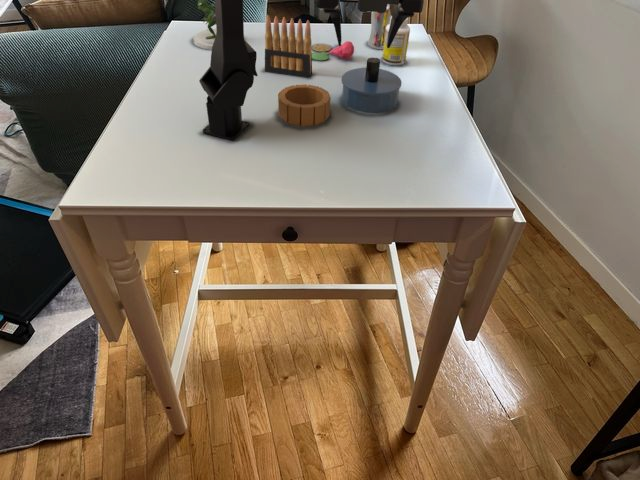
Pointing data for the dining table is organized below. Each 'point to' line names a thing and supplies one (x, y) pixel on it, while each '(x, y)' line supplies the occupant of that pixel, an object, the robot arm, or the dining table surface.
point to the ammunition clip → (288, 49)
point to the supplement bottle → (397, 45)
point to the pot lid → (371, 79)
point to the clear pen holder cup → (379, 27)
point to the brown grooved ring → (304, 105)
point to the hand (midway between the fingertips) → (363, 46)
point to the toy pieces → (333, 51)
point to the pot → (369, 101)
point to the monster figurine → (208, 36)
